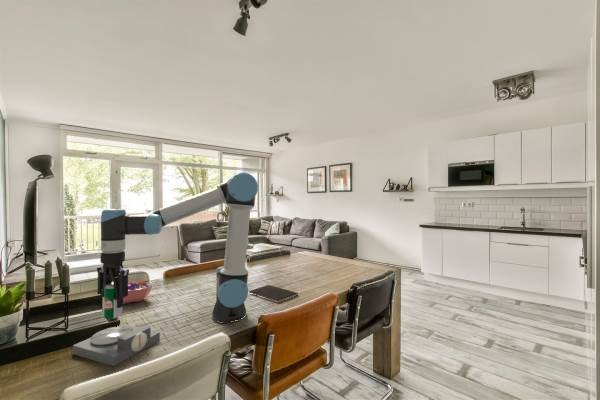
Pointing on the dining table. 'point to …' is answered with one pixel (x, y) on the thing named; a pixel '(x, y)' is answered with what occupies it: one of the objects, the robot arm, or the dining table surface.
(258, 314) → the dining table surface
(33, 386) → the dining table surface
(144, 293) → the cell model
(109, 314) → the soda can
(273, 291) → the hardcover book
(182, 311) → the dining table surface
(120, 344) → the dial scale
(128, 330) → the scale pan
